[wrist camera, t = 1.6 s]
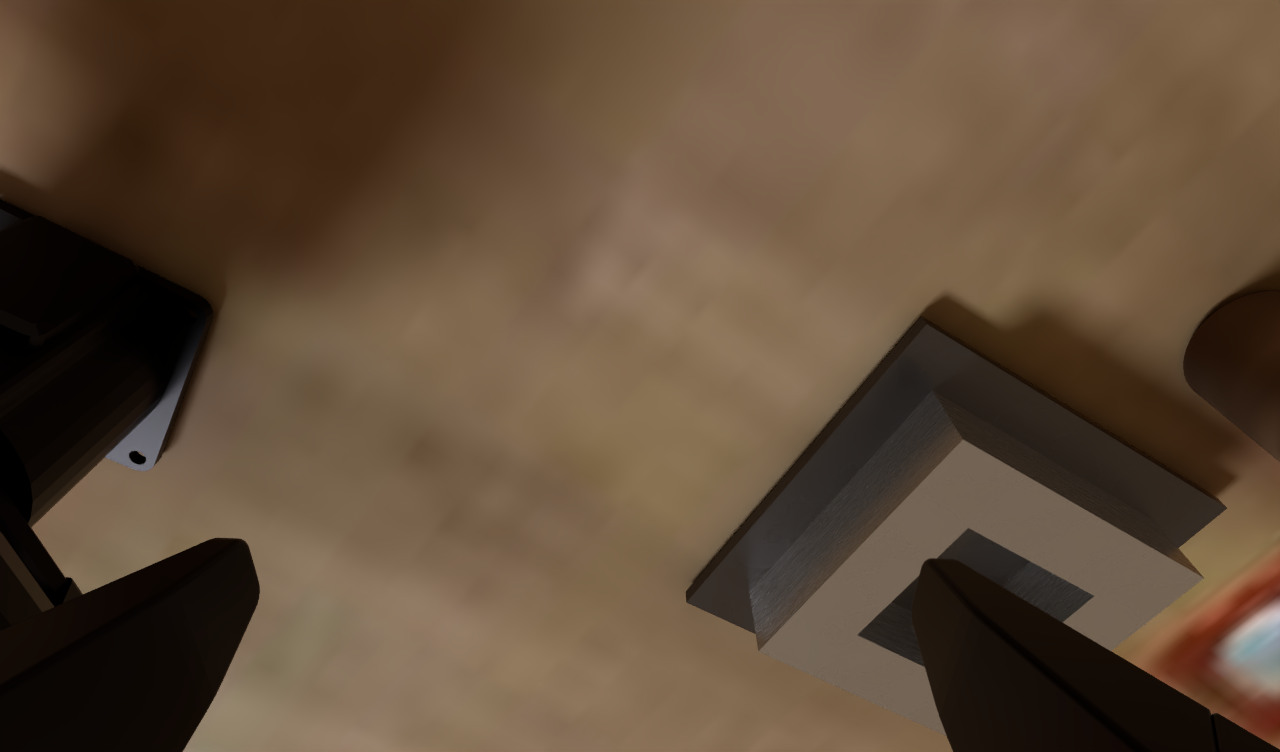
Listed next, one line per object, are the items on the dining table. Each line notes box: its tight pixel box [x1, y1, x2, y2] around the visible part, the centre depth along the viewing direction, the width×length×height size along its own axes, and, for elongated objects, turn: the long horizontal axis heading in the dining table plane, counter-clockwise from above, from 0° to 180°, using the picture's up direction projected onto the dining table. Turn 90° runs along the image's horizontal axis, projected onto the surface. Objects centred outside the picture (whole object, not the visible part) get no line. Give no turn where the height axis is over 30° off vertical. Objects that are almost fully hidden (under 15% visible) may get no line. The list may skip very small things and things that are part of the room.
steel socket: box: [686, 316, 1227, 736], centre depth 24 cm, size 12×12×3 cm
